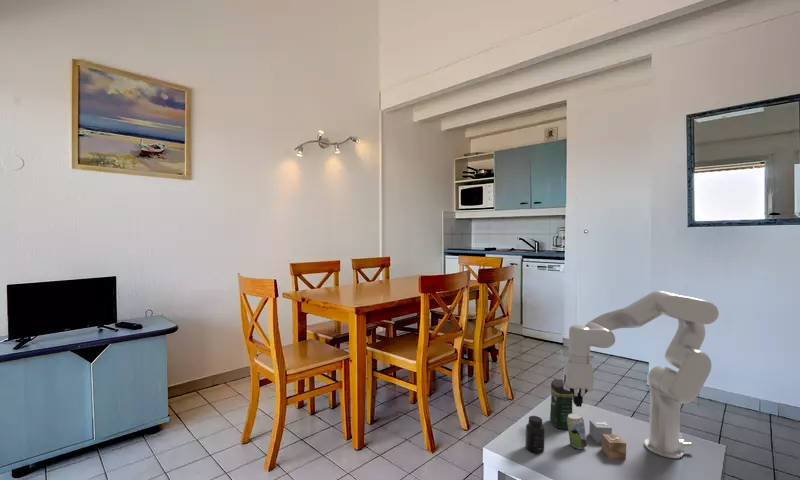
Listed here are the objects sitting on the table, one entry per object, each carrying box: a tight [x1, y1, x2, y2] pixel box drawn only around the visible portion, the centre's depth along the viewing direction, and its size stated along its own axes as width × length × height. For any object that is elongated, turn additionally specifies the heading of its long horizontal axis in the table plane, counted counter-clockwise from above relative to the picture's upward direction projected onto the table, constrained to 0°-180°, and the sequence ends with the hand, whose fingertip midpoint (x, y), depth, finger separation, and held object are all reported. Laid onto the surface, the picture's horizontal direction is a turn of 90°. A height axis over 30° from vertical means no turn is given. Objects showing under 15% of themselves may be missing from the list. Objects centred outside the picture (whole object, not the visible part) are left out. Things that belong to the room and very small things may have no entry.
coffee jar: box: [549, 378, 573, 430], centre depth 166 cm, size 10×8×19 cm
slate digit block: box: [588, 419, 613, 443], centre depth 155 cm, size 6×6×6 cm
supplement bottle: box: [524, 415, 546, 455], centre depth 146 cm, size 7×7×12 cm
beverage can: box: [567, 412, 588, 450], centre depth 149 cm, size 6×7×12 cm
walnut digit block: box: [601, 433, 627, 460], centre depth 144 cm, size 6×6×6 cm
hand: (577, 405), depth 149 cm, fingers closed
